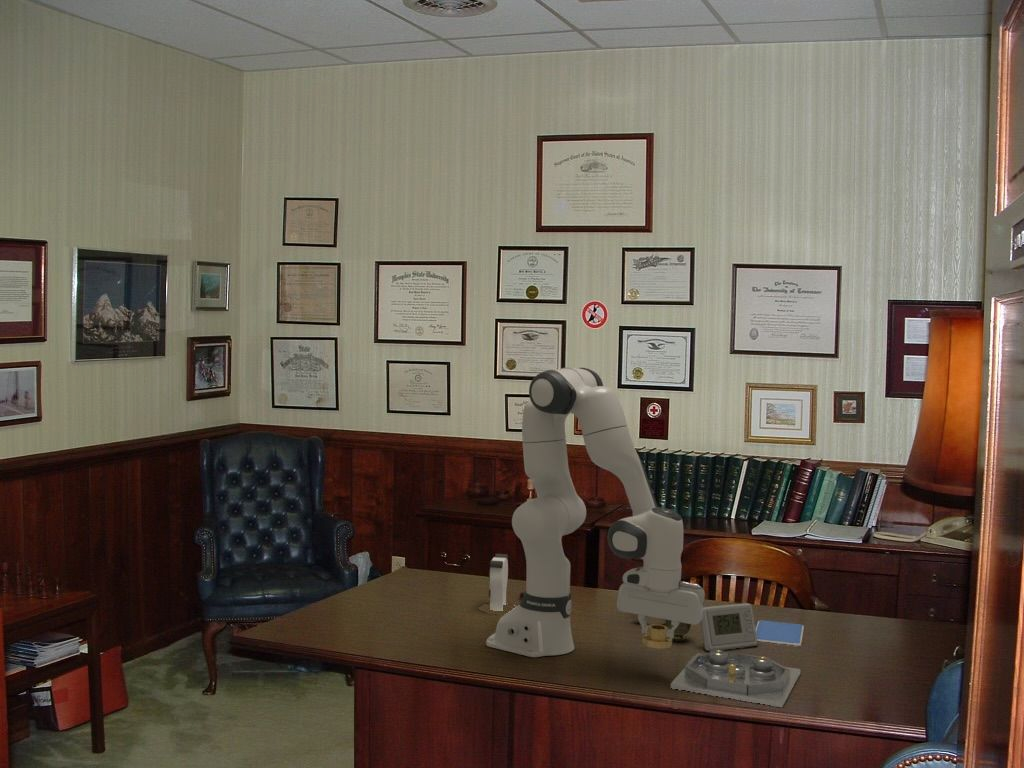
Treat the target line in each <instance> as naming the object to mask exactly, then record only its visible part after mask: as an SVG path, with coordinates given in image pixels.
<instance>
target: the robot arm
mask: <svg viewBox="0 0 1024 768" xmlns="http://www.w3.org/2000/svg"><path fill="white" fill-rule="evenodd" d="M528 394H529V395H528V396H529V400H528V401H527V402H526V403H525V405H524V407H523V410H522V411H523V412H522V420H521V425H522V426H521V438H522V451H523V453H522V454H523V466H524V472H525V475H526V476H527V478H529V479H530V480H531V482H532V484H533V487H534V489H535V493H536V497H534V498H531V499H529V500H526V501H525V502H523V503H522V504H520V506H518V507H516V509H515V510H514V511H513V514H512V517H511V526H512V529H513V532H514V534H515V535H516V537H517V538H518V539H519V540H520V541H521V544H522V547H523V550H524V555H525V560H526V561H525V562H526V583H525V584H526V588H524V589H523V591H522V592H520V593H519V594H518V595H517V596H516V597H517V598H516V601H519V604H518V605H515V606H516V607H515V608H513V609H512V610H511V611H509V612H508V613H506V614H504V615H502V616H501V617H500V618H499V620H498V621H497V624H496V629H495V632H494V633H492V634H491V635H490V636H488V638H487V639H486V642H485V645H486V646H487V647H489V648H494V649H497V650H501V651H505V652H509V653H514V654H517V655H521V656H522V655H523V656H526V657H530V658H539V657H545V656H560V655H561V656H562V655H565V654H568V653H571V652H573V651H574V650H575V644H574V640H573V636H572V635H573V634H572V628H571V627H572V626H571V614H572V593H571V591H570V589H571V562H570V560H569V559H568V558H567V557H566V555H565V553H564V549H563V544H562V537H563V536H567V535H569V534H572V533H574V532H575V531H576V530H578V529H579V528H580V527H581V526H582V525H583V523H584V522H585V520H586V517H587V508H586V505H585V502H584V501H583V499H582V498H581V497H580V496H579V495H578V493H577V491H576V488H575V486H574V483H573V479H572V477H571V472H570V469H569V459H568V451H567V450H568V447H567V439H566V438H567V437H566V420H567V417H568V416H569V415H570V414H572V415H574V416H575V417H576V418H577V419H578V421H579V425H580V428H581V432H582V433H581V434H582V437H583V441H584V446H585V449H586V452H587V454H588V456H589V459H590V460H591V462H592V463H593V464H595V465H596V466H597V467H600V468H601V469H603V470H606V471H608V472H611V474H613V475H615V476H616V477H617V478H618V479H619V480H620V482H621V483H622V485H623V487H624V491H625V494H626V497H627V499H628V503H629V506H630V508H631V510H632V516H627V517H623V518H620V519H619V520H616V521H615V522H613V523H612V524H611V525H610V527H608V531H607V544H608V546H609V548H610V550H611V551H612V553H613V554H614V555H615V556H617V557H618V558H621V559H629V560H630V559H641V560H642V561H643V566H642V567H634V568H632V569H629V570H627V571H625V572H624V573H623V575H622V582H623V583H622V584H620V586H619V588H618V594H617V597H616V608H617V609H618V611H619V612H622V613H629V614H634V615H636V614H638V618H637V620H638V622H639V625H640V626H641V634H643V635H645V634H648V626H649V625H648V624H646V622H645V618H646V616H649V617H655V618H660V619H666V620H671V625H674V626H673V627H672V629H671V630H670V629H668V630H667V631H666V638H668V639H673V637H674V630H675V629H676V628H677V626H678V625H679V622H682V623H688V624H691V625H695V626H696V625H698V624H701V623H700V622H701V621H702V619H703V607H704V606H703V603H704V601H705V597H706V596H705V594H706V593H705V590H704V588H703V587H702V586H700V584H698V583H692V582H686V581H681V579H682V568H683V567H682V562H681V560H682V559H681V557H682V553H683V550H684V522H683V519H682V518H683V517H682V516H681V515H680V514H679V513H678V512H676V511H674V509H669V508H667V507H665V508H664V507H660V506H658V504H657V501H656V498H655V495H654V492H653V488H652V487H651V482H650V481H649V477H648V475H647V472H646V469H645V466H644V464H643V462H642V460H641V458H640V456H639V454H638V453H637V450H636V448H635V446H634V443H633V441H632V437H631V434H630V430H629V428H628V423H627V419H626V416H625V413H624V410H623V407H622V405H621V402H620V400H619V398H618V395H617V393H616V392H615V391H614V390H613V389H612V388H611V387H609V386H604V383H603V380H602V379H601V376H600V375H599V374H598V373H597V372H596V371H594V370H592V369H589V368H586V367H562V368H558V369H548V370H544V371H542V372H540V373H537V374H536V375H535V376H534V377H533V378H532V380H531V381H530V384H529V389H528Z"/></svg>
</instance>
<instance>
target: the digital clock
mask: <svg viewBox="0 0 1024 768" xmlns="http://www.w3.org/2000/svg"><path fill="white" fill-rule="evenodd" d="M755 623H756V622H755V618H754V612H753V607H752V604H751V603H748V602H747V603H746V602H745V603H729V604H719V605H717V604H716V605H711V606H703V619H702V621H701V622H700V623H699V624H700V628H701V630H700V631H701V635H702V641H703V647H704V649H705V651H707V652H710V651H711V650H716V649H720V650H723V651H729V650H728V649H731V650H737V649H736V648H740V649H746V648H749V647H754V646H755V647H756V646H757V645H758V642H757V635H756V624H755ZM745 647H746V648H745Z"/></svg>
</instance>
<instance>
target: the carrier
mask: <svg viewBox="0 0 1024 768" xmlns="http://www.w3.org/2000/svg"><path fill="white" fill-rule="evenodd" d="M800 675H801V669H800V668H796V667H795V668H794V667H788V666H784V665H783V664H780V663H778V662H776V661H775V660H773V659H772V658H771V657H768V656H764V655H754V654H747V653H742V652H741V653H740V652H733V651H727V650H720V649H716V650H711V651H709V653H698V652H697V654H695V655H693V656H692V658H690V660H689V661H688V662H687V663H686V664H685V665H684V668H683V669H682V670H681V672H679V674H678V675H677V676H676V677H675V678H674V679H673V680H672V682H671V683H670V689H671V688H672V689H671V690H675V689H678V690H677V691H681V690H686V691H685V692H687V691H690V692H689V693H693V692H695V693H694V694H698V693H701V694H700V695H704V694H707V695H706V696H710V695H711V696H712V697H716V696H718V697H717V698H722V697H723V699H728V698H731V699H730V700H734V699H735V700H734V701H740V700H741V702H745V701H746V702H747V703H751V702H752V703H753V704H757V703H760V704H759V705H763V704H765V705H764V706H769V705H770V707H775V708H781V709H782V708H783V707H784V705H785V703H786V701H787V700H788V698H789V695H790V694H791V692H792V690H793V688H794V686H795V684H796V683H797V681H798V679H799V677H800ZM711 696H710V697H711Z"/></svg>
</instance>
